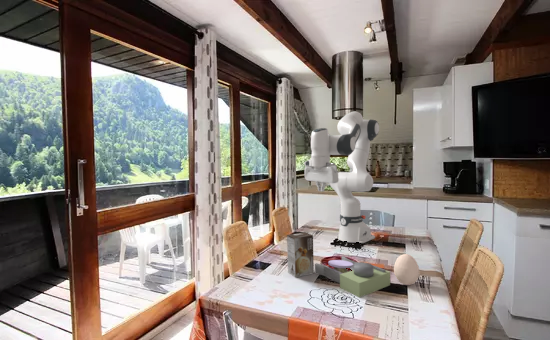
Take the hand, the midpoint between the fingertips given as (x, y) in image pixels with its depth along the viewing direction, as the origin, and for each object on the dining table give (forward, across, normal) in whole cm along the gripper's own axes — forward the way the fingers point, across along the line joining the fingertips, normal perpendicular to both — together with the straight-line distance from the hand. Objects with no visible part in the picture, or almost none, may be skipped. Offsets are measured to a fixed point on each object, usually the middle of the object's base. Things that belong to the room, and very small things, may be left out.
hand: (321, 191), depth 139 cm
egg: (+32, -42, -4) cm, 52 cm away
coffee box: (+31, -10, +22) cm, 40 cm away
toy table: (+31, -23, +11) cm, 40 cm away
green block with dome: (+31, -34, +10) cm, 47 cm away
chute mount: (+31, -22, +9) cm, 39 cm away
